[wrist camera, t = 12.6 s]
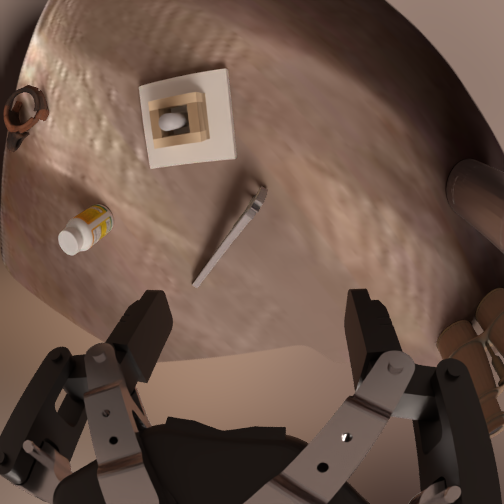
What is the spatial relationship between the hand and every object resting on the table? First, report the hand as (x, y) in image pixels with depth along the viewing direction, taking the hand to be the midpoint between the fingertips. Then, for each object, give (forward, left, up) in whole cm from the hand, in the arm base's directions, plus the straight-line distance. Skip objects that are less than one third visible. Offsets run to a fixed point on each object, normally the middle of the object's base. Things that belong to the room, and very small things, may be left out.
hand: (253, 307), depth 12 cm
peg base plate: (+11, -8, -28) cm, 31 cm away
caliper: (+8, +10, -29) cm, 31 cm away
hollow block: (+11, -8, -27) cm, 30 cm away
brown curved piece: (+41, -16, -28) cm, 53 cm away
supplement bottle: (+29, +5, -28) cm, 41 cm away
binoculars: (-41, +30, -28) cm, 58 cm away
